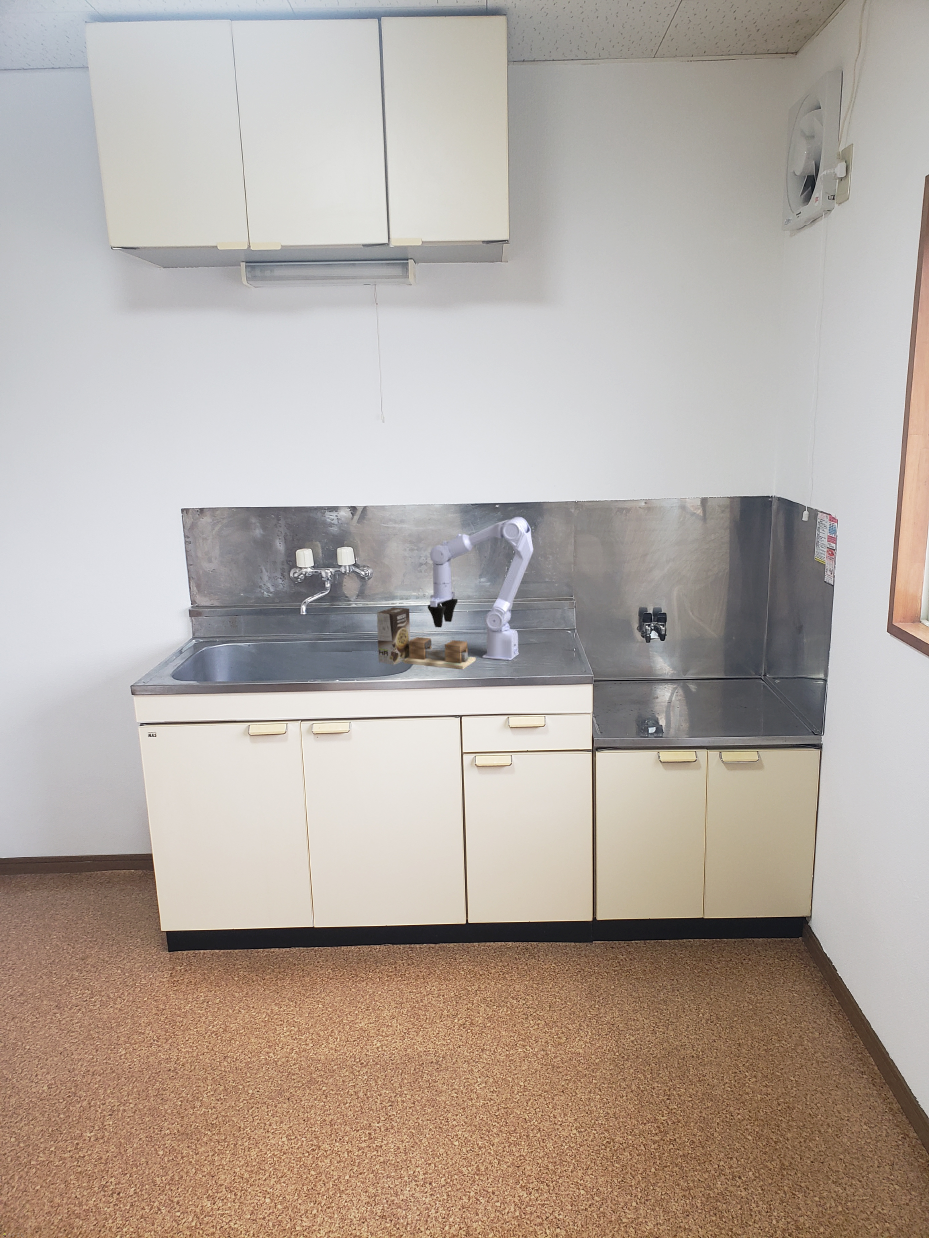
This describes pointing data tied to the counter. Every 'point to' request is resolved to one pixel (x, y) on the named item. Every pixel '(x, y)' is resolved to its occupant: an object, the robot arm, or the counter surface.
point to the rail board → (438, 663)
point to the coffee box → (393, 635)
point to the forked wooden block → (454, 651)
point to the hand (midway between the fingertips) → (443, 624)
